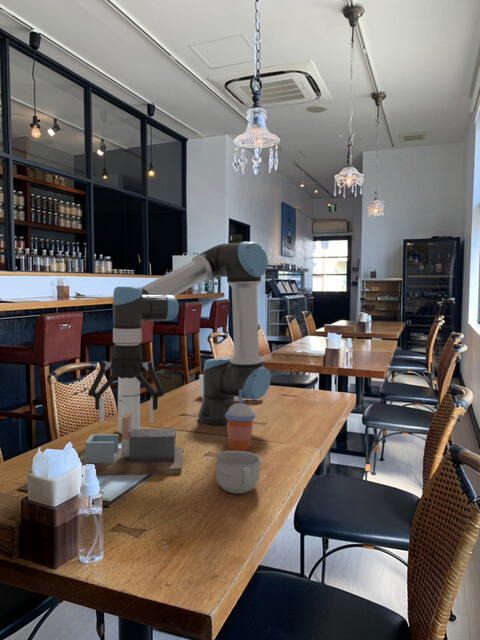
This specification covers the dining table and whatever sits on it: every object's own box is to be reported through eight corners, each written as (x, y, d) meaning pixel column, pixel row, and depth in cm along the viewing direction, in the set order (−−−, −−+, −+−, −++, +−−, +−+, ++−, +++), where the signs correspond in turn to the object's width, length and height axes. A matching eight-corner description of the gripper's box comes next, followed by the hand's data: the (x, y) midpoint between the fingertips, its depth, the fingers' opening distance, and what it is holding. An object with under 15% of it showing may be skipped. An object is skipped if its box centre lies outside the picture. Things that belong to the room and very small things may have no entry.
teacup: (214, 479, 116) (215, 448, 116) (257, 479, 117) (258, 448, 117) (216, 505, 102) (217, 470, 102) (264, 504, 103) (265, 469, 103)
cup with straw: (232, 454, 135) (233, 393, 134) (219, 445, 143) (220, 387, 142) (259, 450, 139) (260, 391, 138) (245, 441, 147) (246, 385, 146)
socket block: (118, 453, 129) (118, 434, 129) (113, 462, 122) (113, 442, 122) (91, 453, 128) (91, 434, 128) (85, 463, 121) (85, 442, 121)
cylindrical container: (134, 434, 151) (134, 359, 150) (114, 432, 153) (114, 358, 151) (142, 428, 158) (143, 356, 157) (123, 426, 160) (124, 355, 158)
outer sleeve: (175, 453, 130) (175, 428, 130) (174, 462, 124) (174, 436, 123) (132, 453, 129) (132, 429, 129) (128, 462, 122) (129, 436, 122)
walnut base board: (183, 452, 135) (183, 447, 135) (181, 473, 119) (181, 468, 119) (85, 453, 133) (85, 448, 133) (70, 475, 117) (70, 469, 117)
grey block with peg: (171, 450, 129) (171, 412, 129) (170, 456, 124) (170, 417, 124) (124, 450, 128) (124, 412, 128) (121, 457, 123) (121, 417, 123)
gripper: (174, 342, 129) (173, 417, 130) (83, 341, 127) (83, 417, 128) (172, 345, 121) (171, 425, 123) (76, 344, 119) (76, 425, 120)
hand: (126, 421), depth 125 cm, fingers open, 13 cm apart
